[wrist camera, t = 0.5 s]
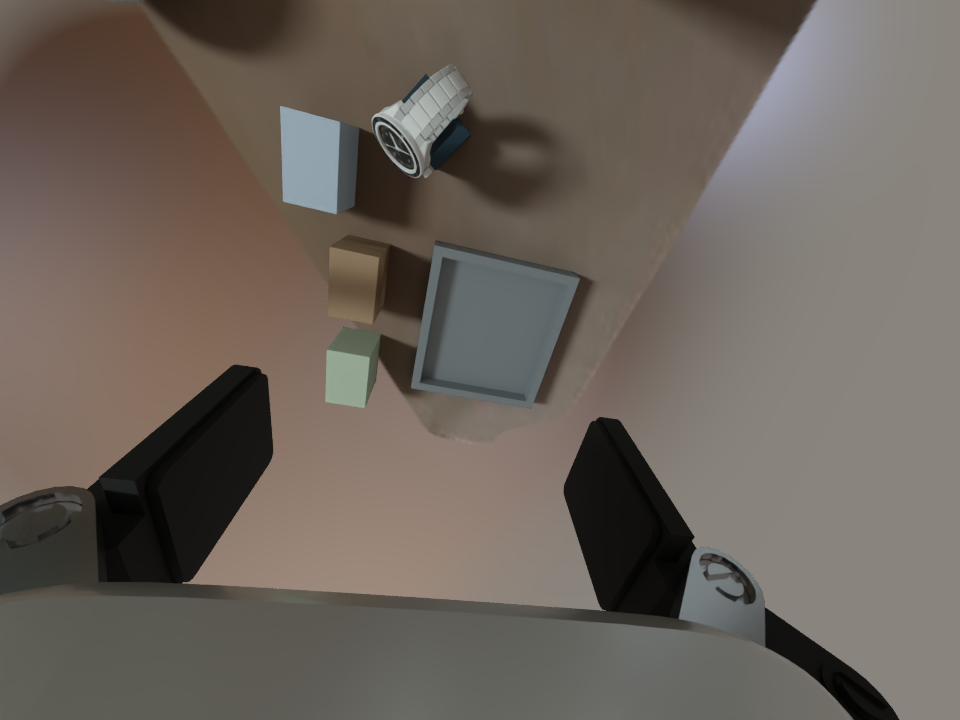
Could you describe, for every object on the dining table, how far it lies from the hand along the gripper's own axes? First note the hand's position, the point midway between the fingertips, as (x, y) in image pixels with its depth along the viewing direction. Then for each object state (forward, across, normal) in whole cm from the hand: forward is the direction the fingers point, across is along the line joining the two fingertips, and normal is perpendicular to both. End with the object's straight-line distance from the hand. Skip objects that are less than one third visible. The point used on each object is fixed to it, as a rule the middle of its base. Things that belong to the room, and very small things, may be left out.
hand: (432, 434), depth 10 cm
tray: (+32, -6, +9) cm, 34 cm away
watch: (+32, +4, -10) cm, 34 cm away
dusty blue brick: (+32, +13, -5) cm, 35 cm away
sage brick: (+33, +9, +16) cm, 38 cm away
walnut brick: (+32, +9, +5) cm, 34 cm away
